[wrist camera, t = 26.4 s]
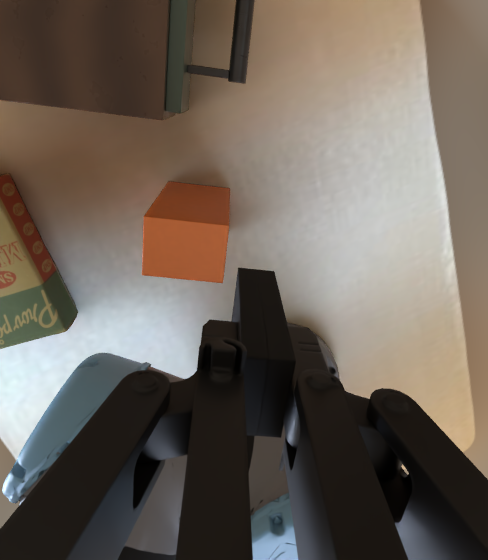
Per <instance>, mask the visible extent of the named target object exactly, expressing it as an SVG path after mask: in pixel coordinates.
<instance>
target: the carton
mask: <svg viewBox="0 0 488 560" xmlns="http://www.w3.org/2000/svg"><path fill="white" fill-rule="evenodd" d="M77 313H78V311H77V310H76V307H75V304H74V302H73V300H72V298H71V296H70V294H69V292H68V290H67V288H66V286H65V284H64V282H63V280H62V278H61V276H60V274H59V272H58V270H57V268H56V266H55V264H54V262H53V260H52V259H51V256H50V254H49V252H48V251H47V249H46V247H45V245H44V243H43V242H42V240H41V236H40V235H39V233H38V230H37V229H36V227H35V225H34V223H33V221H32V219H31V217H30V215H29V214H28V211H27V209H26V207H25V205H24V203H23V201H22V199H21V197H20V195H19V193H18V191H17V189H16V187H15V184H14V182H13V181H12V178H11V176H10V173H8V174H4V175H1V176H0V349H2V348H6V347H9V346H13V345H17V344H20V343H24V342H28V341H31V340H35V339H39V338H42V337H46V336H50V335H54V334H59V333H62V332H66V331H67V330H68V329H69V328H70V326H71V325H72V324H73V322H74V320H75V318H76V317H77Z"/></svg>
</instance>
